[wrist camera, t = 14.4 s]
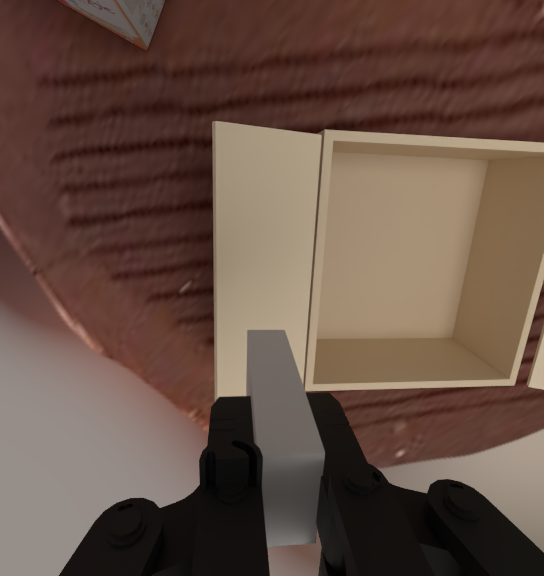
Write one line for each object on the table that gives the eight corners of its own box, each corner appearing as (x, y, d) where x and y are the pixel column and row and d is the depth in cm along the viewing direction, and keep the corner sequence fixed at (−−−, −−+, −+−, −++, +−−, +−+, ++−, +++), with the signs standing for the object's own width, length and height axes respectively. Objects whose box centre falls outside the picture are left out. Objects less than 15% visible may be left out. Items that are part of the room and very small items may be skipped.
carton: (299, 143, 35) (324, 129, 25) (492, 154, 37) (580, 145, 28) (288, 344, 41) (304, 393, 32) (452, 342, 44) (513, 387, 34)
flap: (317, 135, 25) (212, 121, 21) (321, 134, 25) (215, 120, 21) (299, 390, 31) (214, 417, 27) (302, 393, 31) (217, 421, 27)
